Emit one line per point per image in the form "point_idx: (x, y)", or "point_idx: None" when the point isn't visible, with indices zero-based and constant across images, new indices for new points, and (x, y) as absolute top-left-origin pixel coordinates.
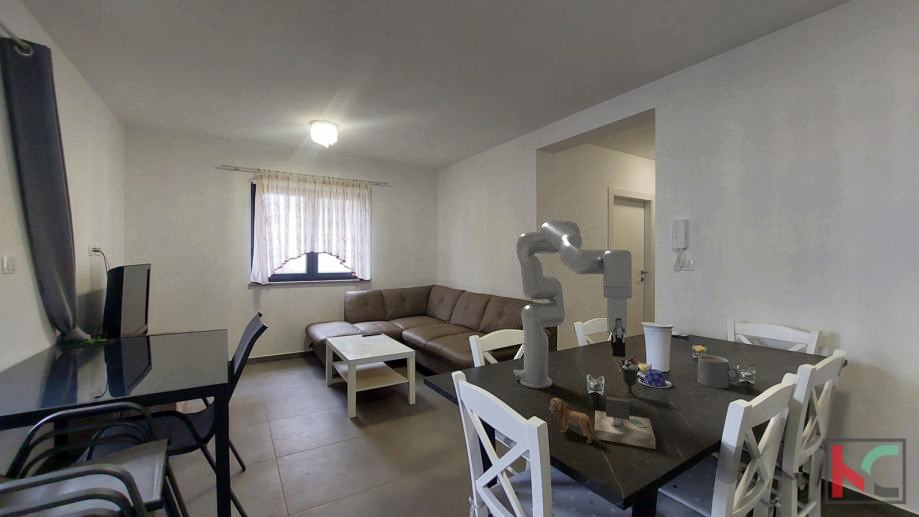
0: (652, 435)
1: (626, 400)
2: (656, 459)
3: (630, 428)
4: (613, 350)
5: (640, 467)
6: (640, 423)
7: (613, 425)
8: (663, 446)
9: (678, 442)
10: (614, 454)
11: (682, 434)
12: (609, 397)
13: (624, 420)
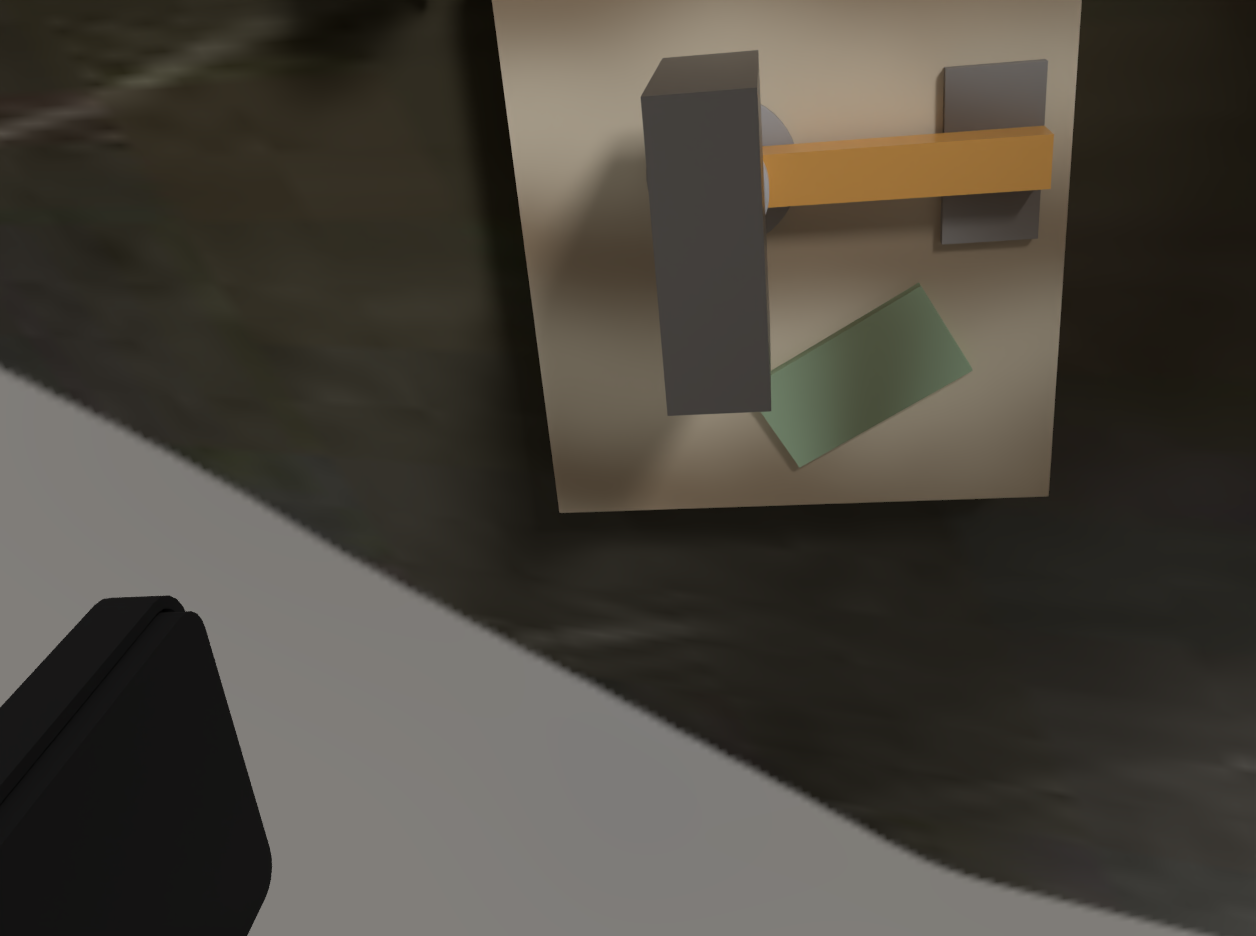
0: (638, 496)
1: (713, 381)
2: (398, 466)
3: None
4: (26, 723)
5: (200, 346)
6: (852, 410)
7: None
8: (657, 535)
9: (790, 648)
10: (284, 139)
11: (968, 696)
12: (733, 142)
13: (894, 246)
